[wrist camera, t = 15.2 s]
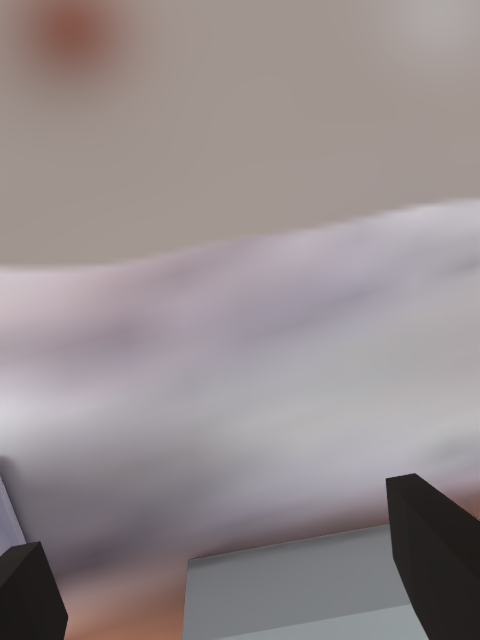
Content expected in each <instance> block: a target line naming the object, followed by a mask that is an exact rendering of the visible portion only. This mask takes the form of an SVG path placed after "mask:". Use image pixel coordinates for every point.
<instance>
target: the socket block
mask: <svg viewBox="0 0 480 640" xmlns="http://www.w3.org/2000/svg"><path fill="white" fill-rule="evenodd" d="M182 640H429V639H428V637H427V635H426V633H425V631H424V629H423V627H422V625H421V623H420V621H419V620H418V618H417V616H416V614H415V612H414V609H413V607H412V605H411V602H410V600H409V597H408V595H407V592H406V590H405V588H404V585H403V583H402V580H401V577H400V575H399V572H398V570H397V567H396V565H395V562H394V560H393V554H392V543H391V532H390V524H384V525H379V526H373V527H368V528H362V529H357V530H351V531H346V532H340V533H335V534H329V535H324V536H318V537H313V538H307V539H302V540H296V541H291V542H285V543H280V544H274V545H269V546H263V547H258V548H252V549H247V550H241V551H236V552H230V553H225V554H219V555H214V556H208V557H203V558H197V559H192V560H188V571H187V583H186V596H185V608H184V621H183V633H182Z"/></svg>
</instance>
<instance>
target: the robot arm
mask: <svg viewBox="0 0 480 640" xmlns="http://www.w3.org/2000/svg"><path fill="white" fill-rule="evenodd" d="M386 488H387V499H388V510H389V521H390V532H391V543H392V554H393V560H394V562H395V565H396V567H397V570H398V572H399V575H400V577H401V580H402V583H403V585H404V588H405V590H406V592H407V595H408V597H409V600H410V602H411V605H412V607H413V609H414V612H415V614H416V616H417V618H418V620H419V621H420V623H421V625H422V627H423V629H424V631H425V633H426V635H427V637H428V639H429V640H480V521H479V520H477V519H476V518H475V517H473V516H472V515H471V514H469V513H468V512H466V511H465V510H464V509H462V508H461V507H460V506H458V505H457V504H456V503H454V502H453V501H452V500H450V499H449V498H448V497H446V496H445V495H444V494H442V493H441V492H440V491H438V490H437V489H436V488H434V487H433V486H432V485H430V484H429V483H428V482H426V481H425V480H423V479H422V478H421V477H419V476H418V475H417V474H415V473H414V474H408V475H403V476H397V477H392V478H386ZM67 621H68V614H67V612H66V609H65V606H64V604H63V601H62V598H61V596H60V593H59V590H58V588H57V585H56V582H55V580H54V577H53V574H52V572H51V569H50V566H49V564H48V561H47V558H46V556H45V553H44V550H43V548H42V545H41V542H40V541H39V542H34V543H28V544H27V543H26V541H25V538H24V536H23V533H22V530H21V528H20V525H19V523H18V520H17V518H16V515H15V512H14V510H13V507H12V505H11V502H10V499H9V497H8V494H7V492H6V489H5V487H4V484H3V481H2V479H1V476H0V640H64V636H65V631H66V626H67Z"/></svg>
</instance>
